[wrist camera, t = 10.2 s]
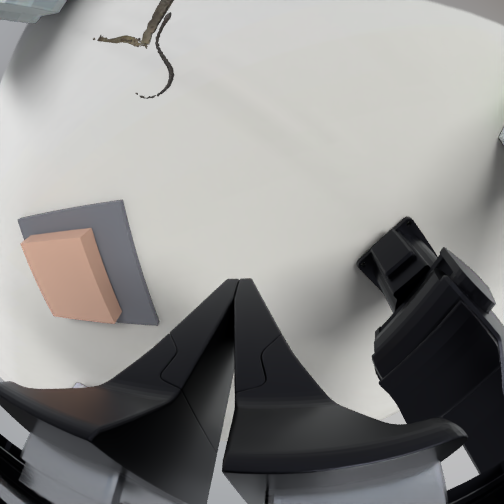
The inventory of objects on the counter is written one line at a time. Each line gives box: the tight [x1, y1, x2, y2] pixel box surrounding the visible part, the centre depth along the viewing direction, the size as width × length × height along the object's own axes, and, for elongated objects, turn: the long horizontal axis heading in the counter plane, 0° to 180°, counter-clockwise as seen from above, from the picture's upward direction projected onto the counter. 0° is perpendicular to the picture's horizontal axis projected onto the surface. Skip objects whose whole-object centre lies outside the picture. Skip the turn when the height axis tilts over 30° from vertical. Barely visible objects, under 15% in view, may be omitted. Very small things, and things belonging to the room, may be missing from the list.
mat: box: [18, 200, 159, 325], centre depth 26 cm, size 16×14×1 cm
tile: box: [20, 228, 122, 324], centre depth 25 cm, size 2×10×10 cm
